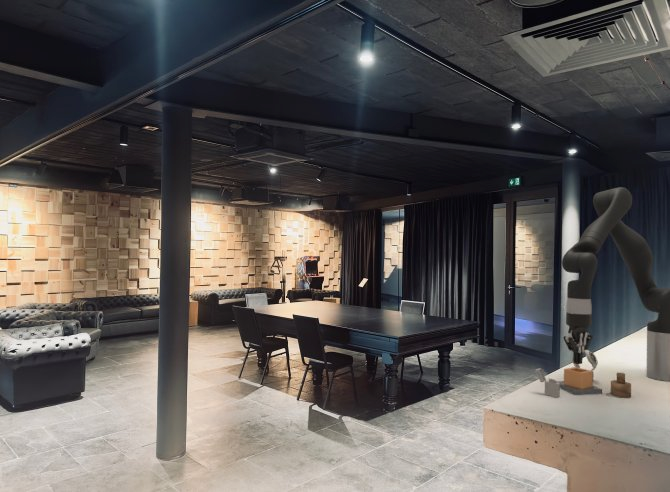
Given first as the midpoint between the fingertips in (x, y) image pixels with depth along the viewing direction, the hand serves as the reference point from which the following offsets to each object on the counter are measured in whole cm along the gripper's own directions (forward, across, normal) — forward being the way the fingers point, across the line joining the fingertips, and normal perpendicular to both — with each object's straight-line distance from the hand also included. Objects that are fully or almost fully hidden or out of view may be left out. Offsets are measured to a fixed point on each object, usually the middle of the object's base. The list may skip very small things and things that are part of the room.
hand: (577, 363), depth 153 cm
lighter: (+9, +14, -1) cm, 17 cm away
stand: (+9, -7, +10) cm, 15 cm away
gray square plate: (+9, 0, 0) cm, 9 cm away
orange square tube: (+7, 0, 0) cm, 7 cm away
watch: (+9, -13, -6) cm, 17 cm away
